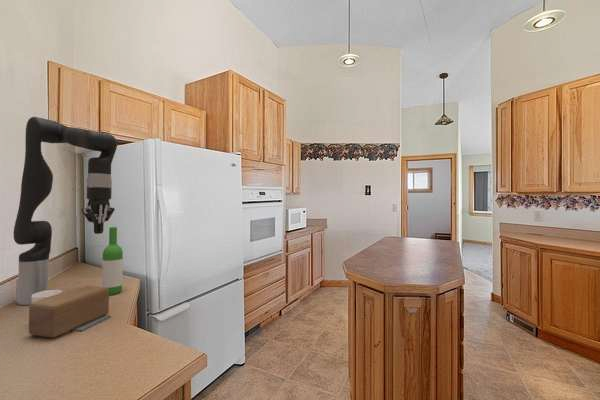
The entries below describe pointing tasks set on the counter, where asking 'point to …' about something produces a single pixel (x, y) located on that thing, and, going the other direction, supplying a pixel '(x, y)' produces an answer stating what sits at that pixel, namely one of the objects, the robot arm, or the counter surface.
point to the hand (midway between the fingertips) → (98, 233)
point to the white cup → (45, 295)
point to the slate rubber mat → (91, 323)
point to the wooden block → (67, 310)
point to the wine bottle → (112, 264)
